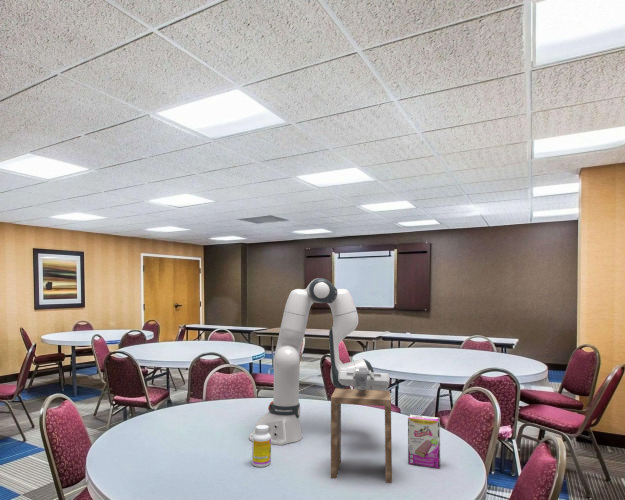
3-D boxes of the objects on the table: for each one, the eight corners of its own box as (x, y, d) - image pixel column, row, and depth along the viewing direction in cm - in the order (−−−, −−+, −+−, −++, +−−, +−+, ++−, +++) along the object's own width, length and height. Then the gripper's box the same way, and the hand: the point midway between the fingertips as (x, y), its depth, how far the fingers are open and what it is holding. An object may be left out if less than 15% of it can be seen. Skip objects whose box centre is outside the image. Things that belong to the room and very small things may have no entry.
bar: (355, 385, 141) (355, 373, 141) (358, 375, 160) (358, 364, 161) (366, 386, 140) (366, 374, 140) (368, 375, 159) (368, 365, 160)
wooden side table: (330, 478, 135) (331, 397, 139) (335, 461, 149) (335, 388, 152) (392, 483, 132) (390, 400, 135) (391, 466, 146) (390, 390, 149)
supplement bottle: (272, 466, 144) (272, 428, 146) (253, 468, 143) (254, 430, 144) (268, 459, 151) (269, 423, 152) (250, 461, 149) (251, 424, 150)
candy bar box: (408, 464, 147) (407, 417, 149) (409, 459, 152) (408, 413, 154) (440, 469, 144) (439, 420, 145) (441, 464, 148) (439, 416, 150)
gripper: (339, 375, 171) (336, 362, 160) (389, 377, 168) (389, 365, 157) (338, 390, 168) (335, 378, 157) (389, 393, 164) (389, 381, 153)
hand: (363, 371), depth 157 cm, fingers closed on bar, 3 cm apart
